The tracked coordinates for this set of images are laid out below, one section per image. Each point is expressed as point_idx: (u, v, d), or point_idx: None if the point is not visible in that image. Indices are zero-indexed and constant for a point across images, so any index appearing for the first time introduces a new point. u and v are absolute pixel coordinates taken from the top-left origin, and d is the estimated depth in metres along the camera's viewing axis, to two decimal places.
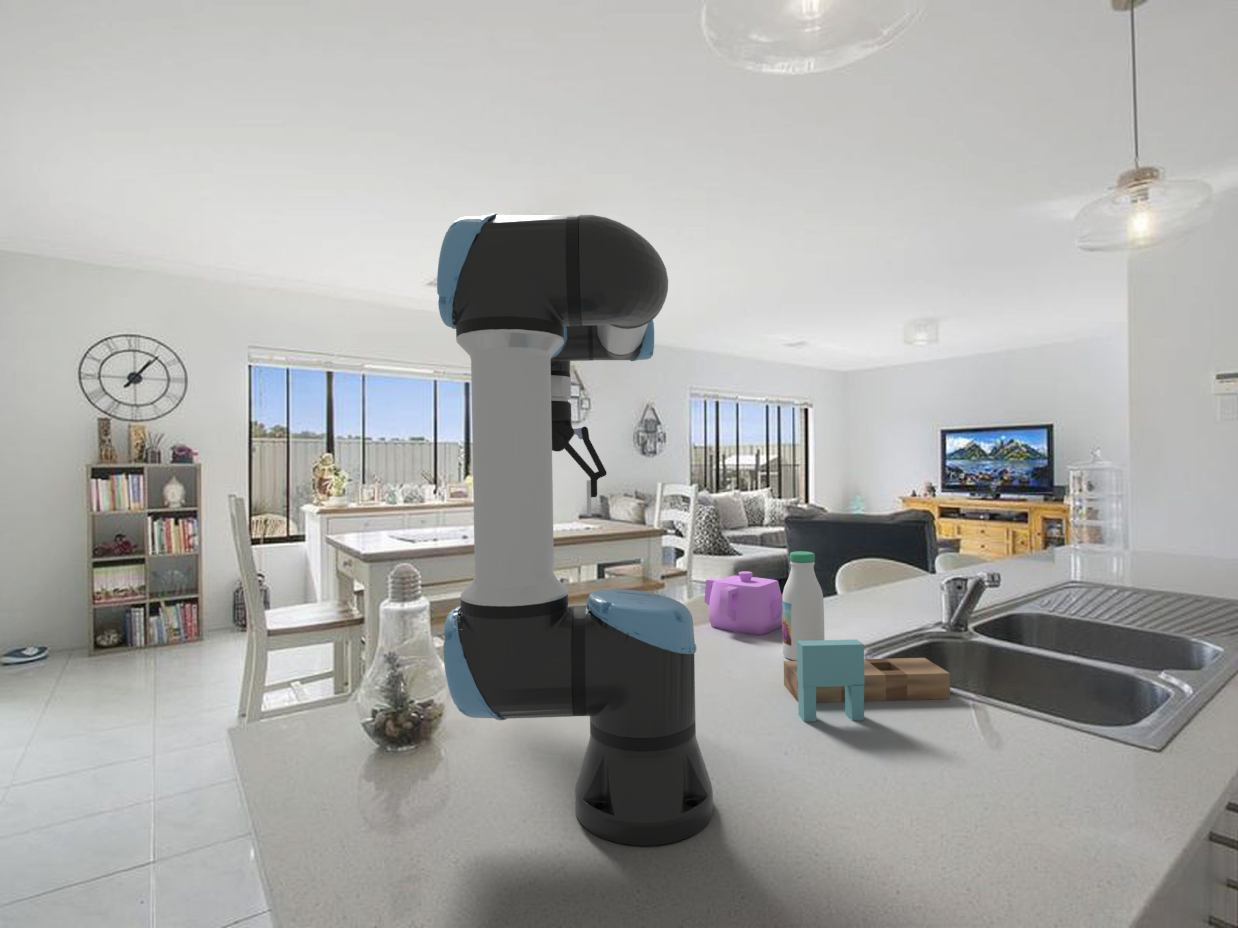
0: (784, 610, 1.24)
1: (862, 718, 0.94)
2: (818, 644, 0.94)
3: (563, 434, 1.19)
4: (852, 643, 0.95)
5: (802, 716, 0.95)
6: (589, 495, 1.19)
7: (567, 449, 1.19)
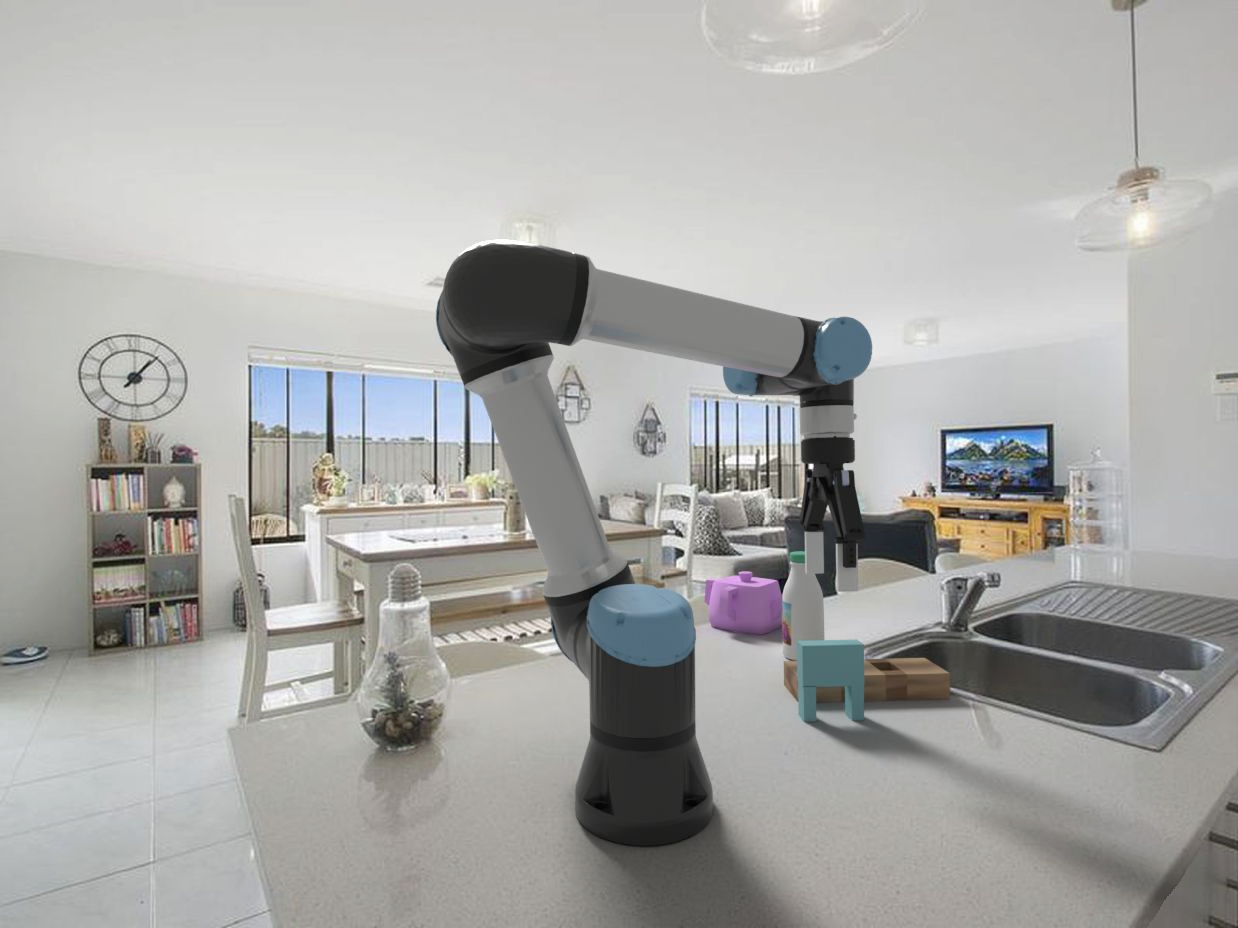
0: (784, 610, 1.24)
1: (862, 718, 0.94)
2: (818, 644, 0.94)
3: (826, 479, 0.93)
4: (852, 643, 0.95)
5: (802, 716, 0.95)
6: (837, 563, 0.88)
7: (824, 499, 0.92)
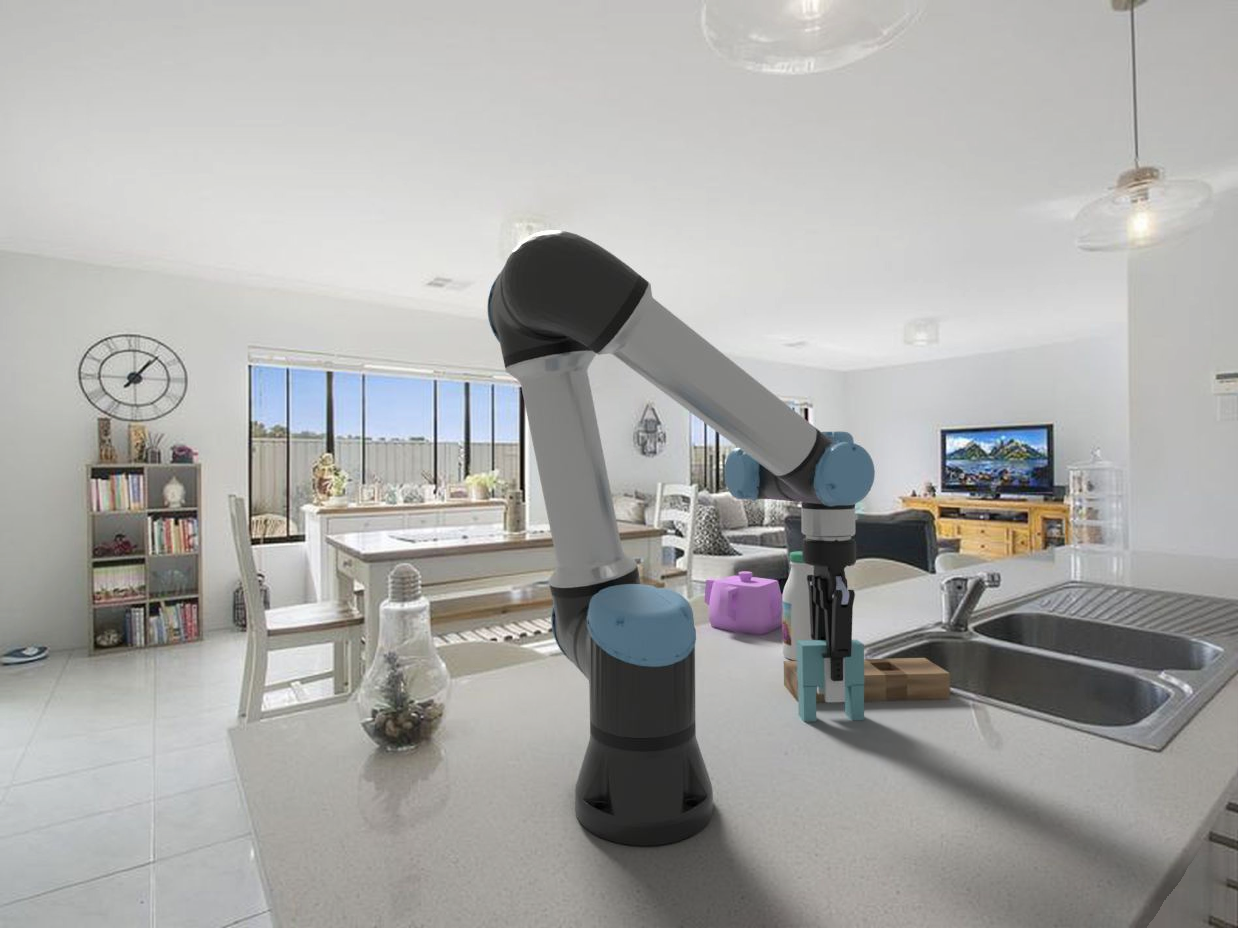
0: (784, 610, 1.24)
1: (862, 718, 0.94)
2: (818, 644, 0.94)
3: (826, 579, 0.93)
4: (852, 643, 0.95)
5: (802, 716, 0.95)
6: (825, 675, 0.94)
7: (821, 604, 0.94)
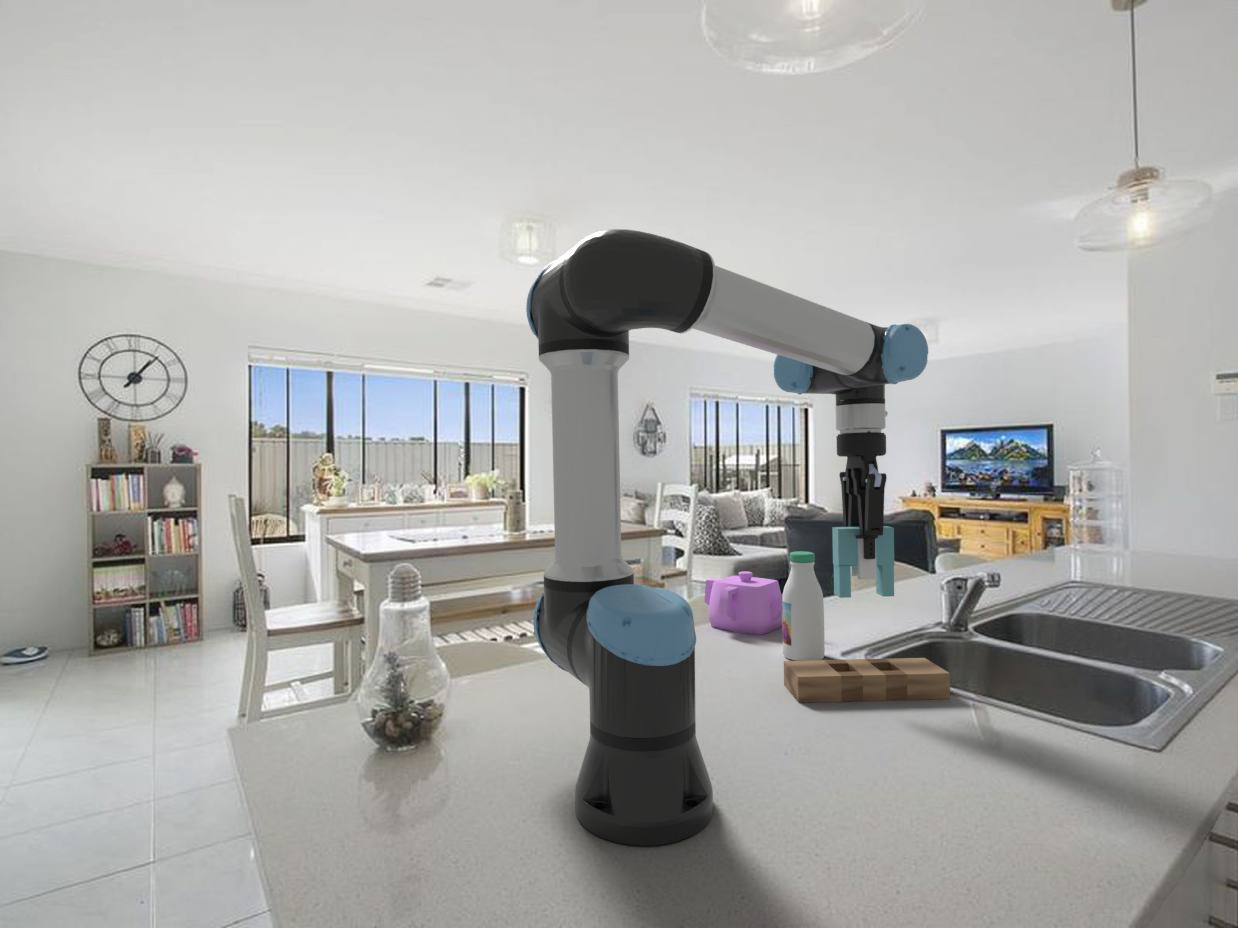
0: (784, 610, 1.24)
1: (892, 594, 1.04)
2: (852, 528, 1.04)
3: (860, 467, 1.03)
4: (883, 527, 1.05)
5: (838, 593, 1.05)
6: (859, 555, 1.04)
7: (855, 491, 1.04)
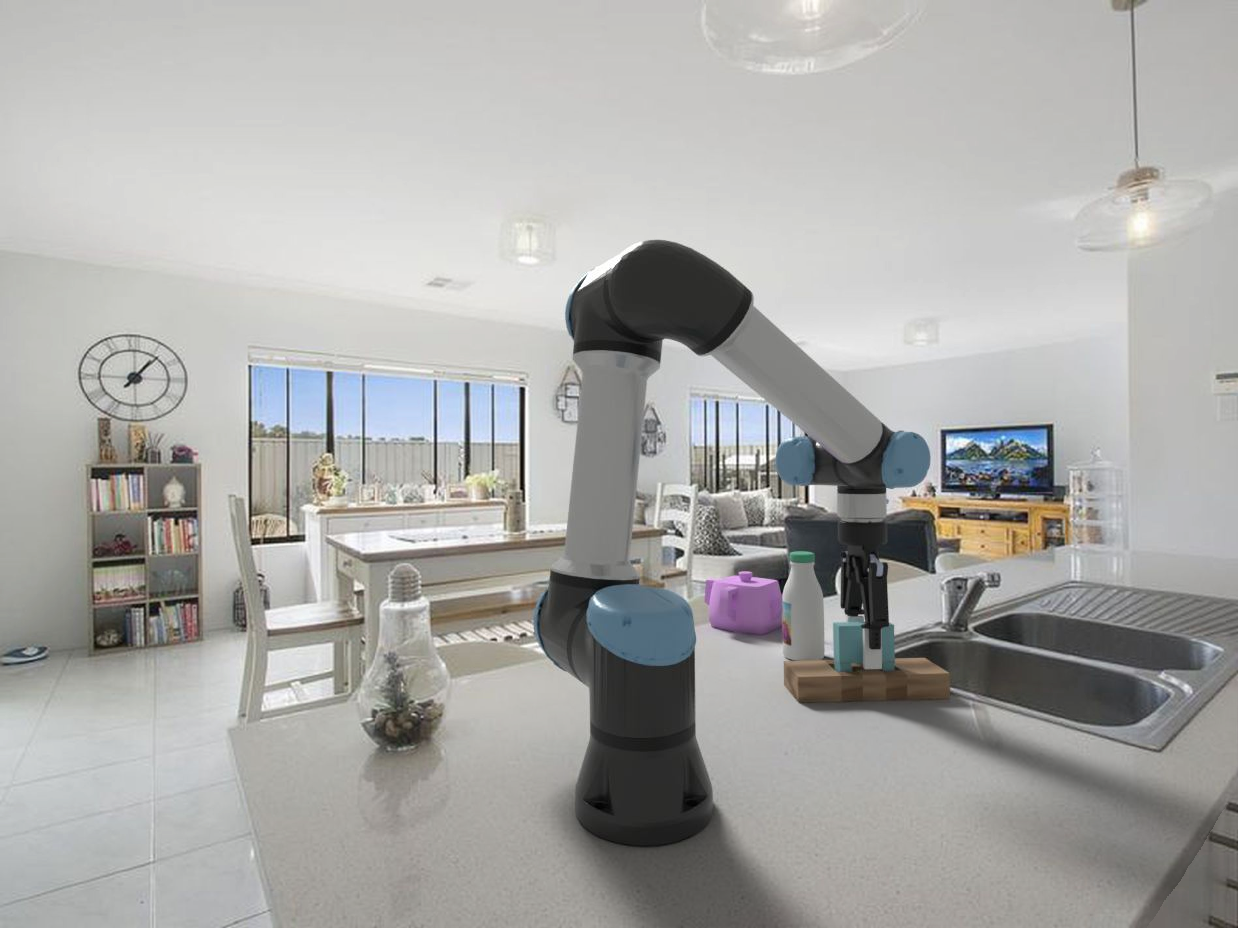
0: (784, 610, 1.24)
1: None
2: (853, 625, 1.05)
3: (861, 557, 1.03)
4: None
5: None
6: (864, 644, 1.02)
7: (857, 580, 1.04)
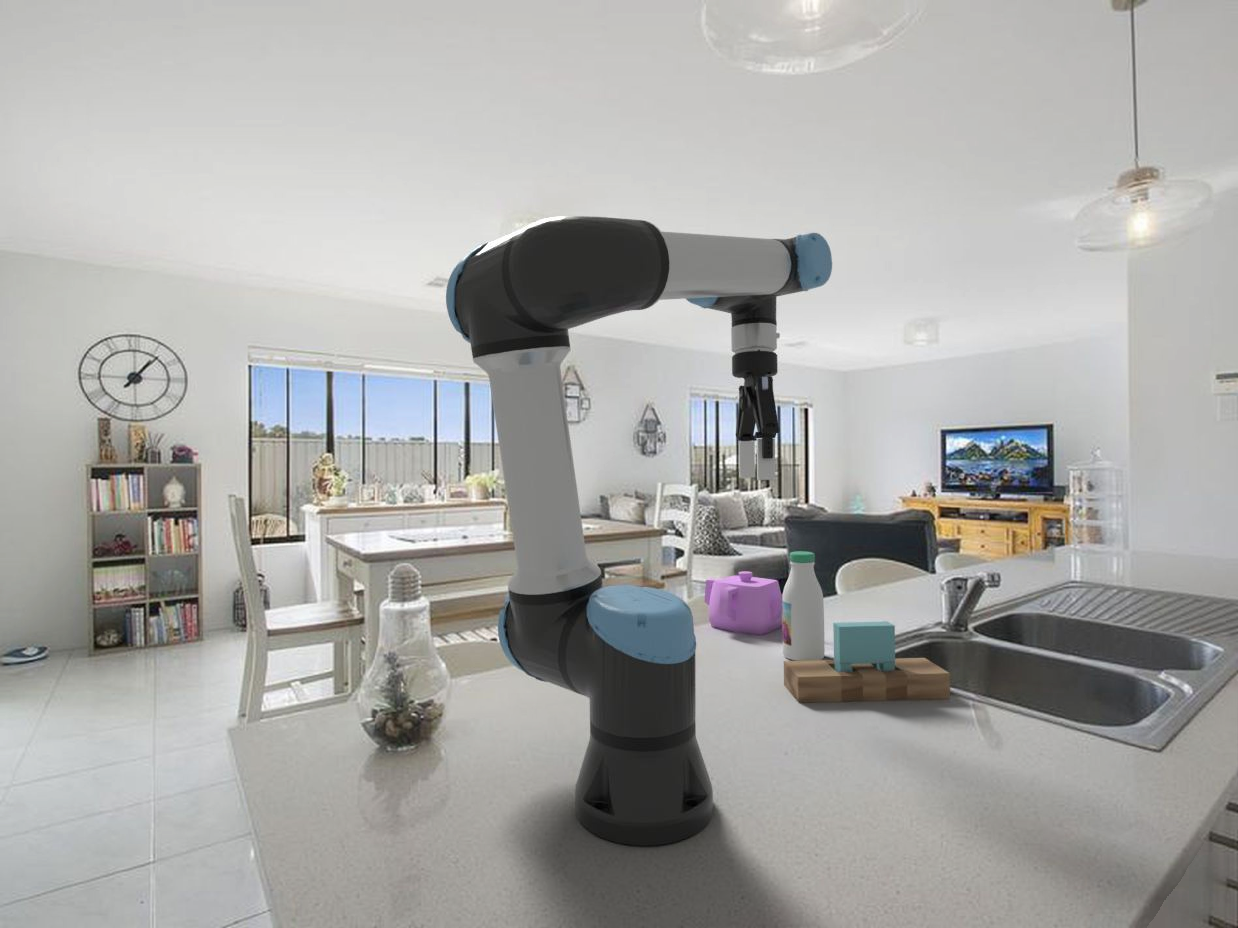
0: (784, 610, 1.24)
1: None
2: (853, 625, 1.04)
3: (751, 388, 1.08)
4: (884, 624, 1.05)
5: None
6: (757, 456, 1.03)
7: (749, 404, 1.07)
